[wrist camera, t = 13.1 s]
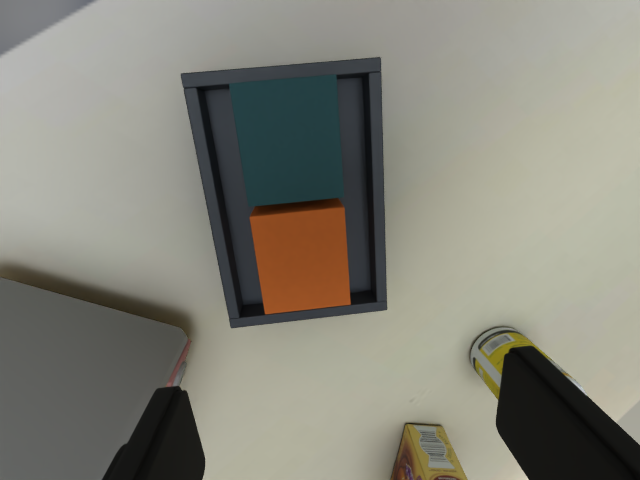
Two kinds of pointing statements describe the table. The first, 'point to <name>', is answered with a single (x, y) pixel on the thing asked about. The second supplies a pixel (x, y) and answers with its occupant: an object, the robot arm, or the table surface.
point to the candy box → (426, 455)
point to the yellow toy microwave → (75, 381)
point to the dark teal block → (289, 139)
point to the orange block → (301, 255)
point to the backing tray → (234, 214)
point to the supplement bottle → (500, 356)
